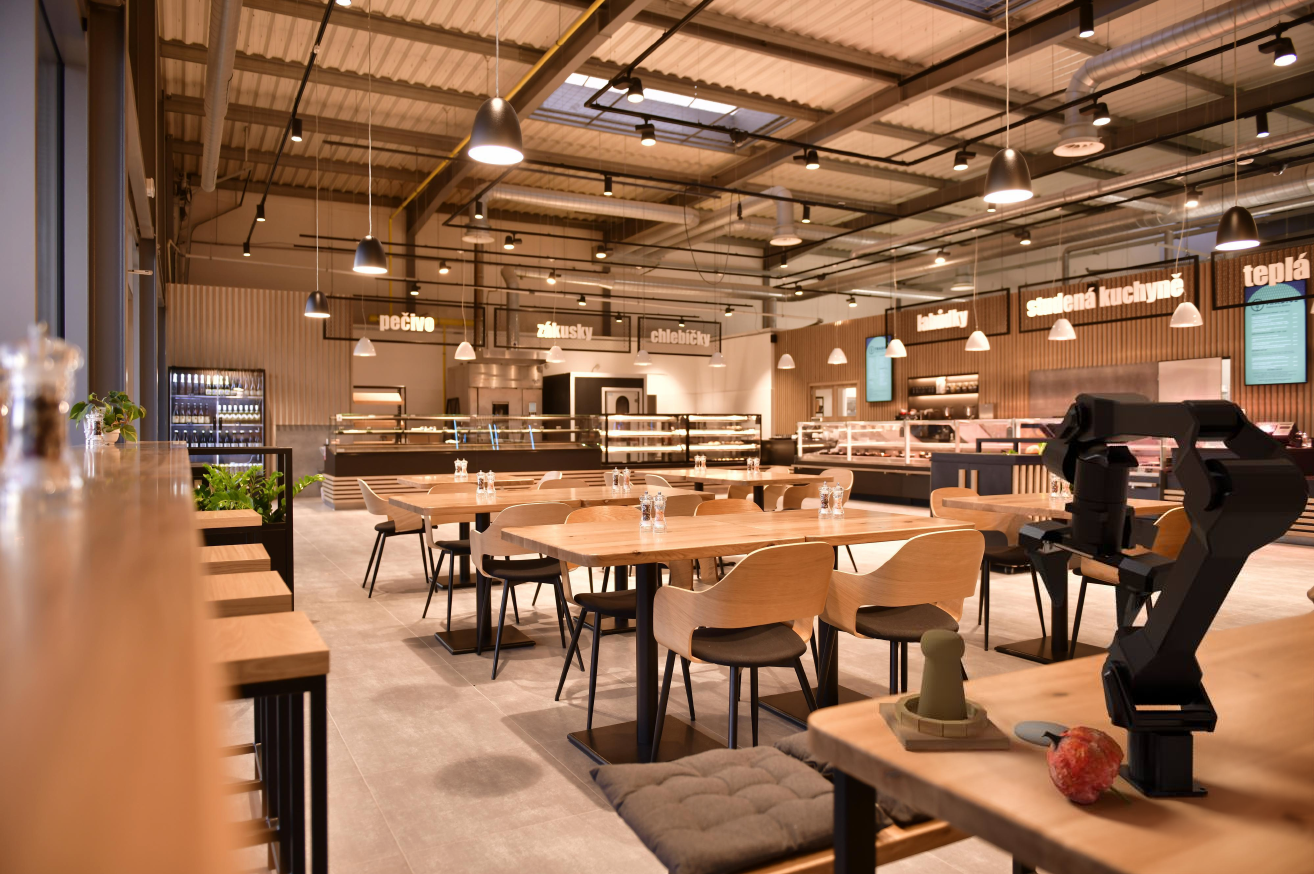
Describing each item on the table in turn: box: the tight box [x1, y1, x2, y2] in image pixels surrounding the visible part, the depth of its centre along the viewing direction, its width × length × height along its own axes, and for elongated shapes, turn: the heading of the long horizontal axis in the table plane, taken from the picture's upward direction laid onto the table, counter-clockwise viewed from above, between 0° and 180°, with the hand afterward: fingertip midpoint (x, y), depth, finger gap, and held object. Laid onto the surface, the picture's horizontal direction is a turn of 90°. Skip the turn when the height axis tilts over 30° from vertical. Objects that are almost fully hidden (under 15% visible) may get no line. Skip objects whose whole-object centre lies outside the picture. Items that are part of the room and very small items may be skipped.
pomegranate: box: [1042, 725, 1133, 805], centre depth 85 cm, size 7×7×10 cm
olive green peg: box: [917, 628, 968, 721], centre depth 103 cm, size 6×6×11 cm
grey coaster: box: [1013, 720, 1071, 747], centre depth 101 cm, size 7×7×1 cm
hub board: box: [878, 692, 1010, 751], centre depth 103 cm, size 12×12×3 cm
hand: (1089, 619), depth 103 cm, fingers open, 9 cm apart
